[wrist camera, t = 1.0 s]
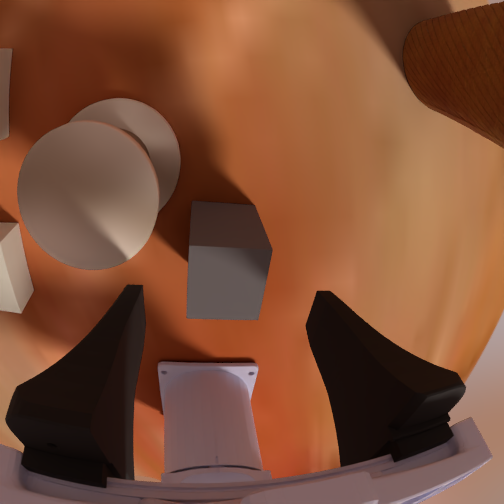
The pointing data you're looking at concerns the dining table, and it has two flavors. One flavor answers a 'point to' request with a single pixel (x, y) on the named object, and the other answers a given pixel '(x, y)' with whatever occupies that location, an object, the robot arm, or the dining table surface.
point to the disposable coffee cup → (461, 67)
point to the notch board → (8, 234)
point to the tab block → (226, 261)
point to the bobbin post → (99, 183)
